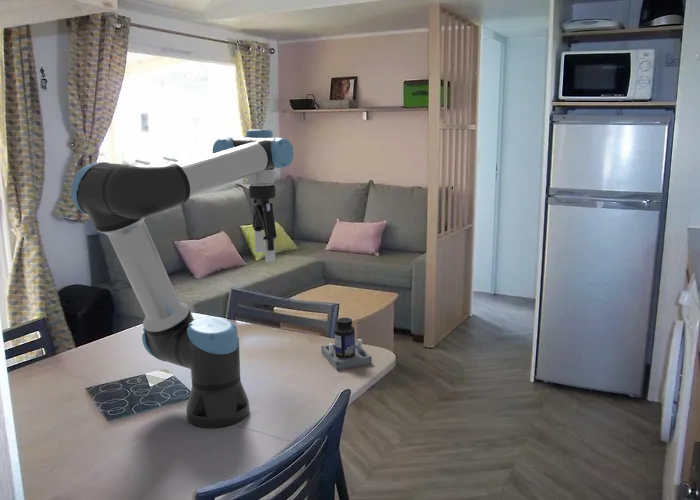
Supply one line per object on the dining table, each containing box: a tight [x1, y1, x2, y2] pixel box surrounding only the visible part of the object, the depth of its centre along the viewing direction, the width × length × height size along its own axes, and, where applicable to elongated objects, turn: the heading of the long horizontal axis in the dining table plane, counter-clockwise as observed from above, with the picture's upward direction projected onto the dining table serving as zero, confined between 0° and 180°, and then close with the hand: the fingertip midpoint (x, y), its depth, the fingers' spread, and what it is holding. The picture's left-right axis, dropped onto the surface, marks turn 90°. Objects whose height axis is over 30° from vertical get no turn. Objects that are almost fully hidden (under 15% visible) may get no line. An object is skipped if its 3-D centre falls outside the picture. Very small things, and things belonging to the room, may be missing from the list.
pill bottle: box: [333, 317, 356, 358], centre depth 180 cm, size 6×6×11 cm
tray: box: [320, 338, 373, 370], centre depth 181 cm, size 14×11×5 cm
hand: (265, 256), depth 176 cm, fingers open, 13 cm apart
